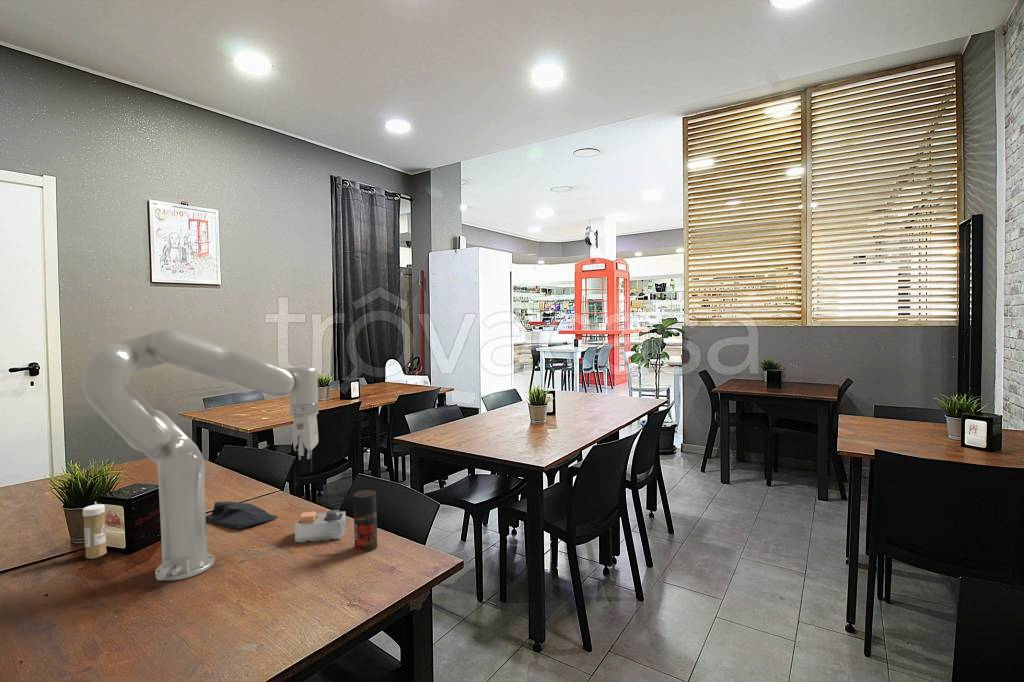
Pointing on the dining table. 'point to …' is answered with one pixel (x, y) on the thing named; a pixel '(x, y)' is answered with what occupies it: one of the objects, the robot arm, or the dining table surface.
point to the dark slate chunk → (238, 515)
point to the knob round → (333, 515)
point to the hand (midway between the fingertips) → (305, 472)
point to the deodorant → (365, 521)
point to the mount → (320, 528)
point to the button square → (308, 517)
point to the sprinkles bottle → (94, 531)
